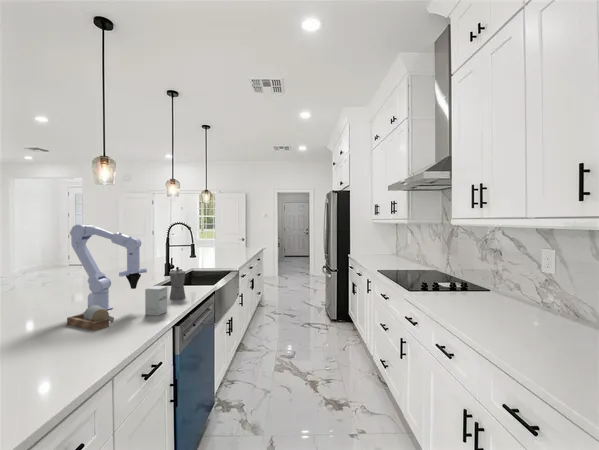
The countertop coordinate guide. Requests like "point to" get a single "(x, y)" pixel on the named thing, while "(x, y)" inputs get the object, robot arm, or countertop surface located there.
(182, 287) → the coffeepot
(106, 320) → the rail
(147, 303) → the supplement box
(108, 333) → the countertop surface
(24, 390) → the countertop surface
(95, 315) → the ceramic mug
